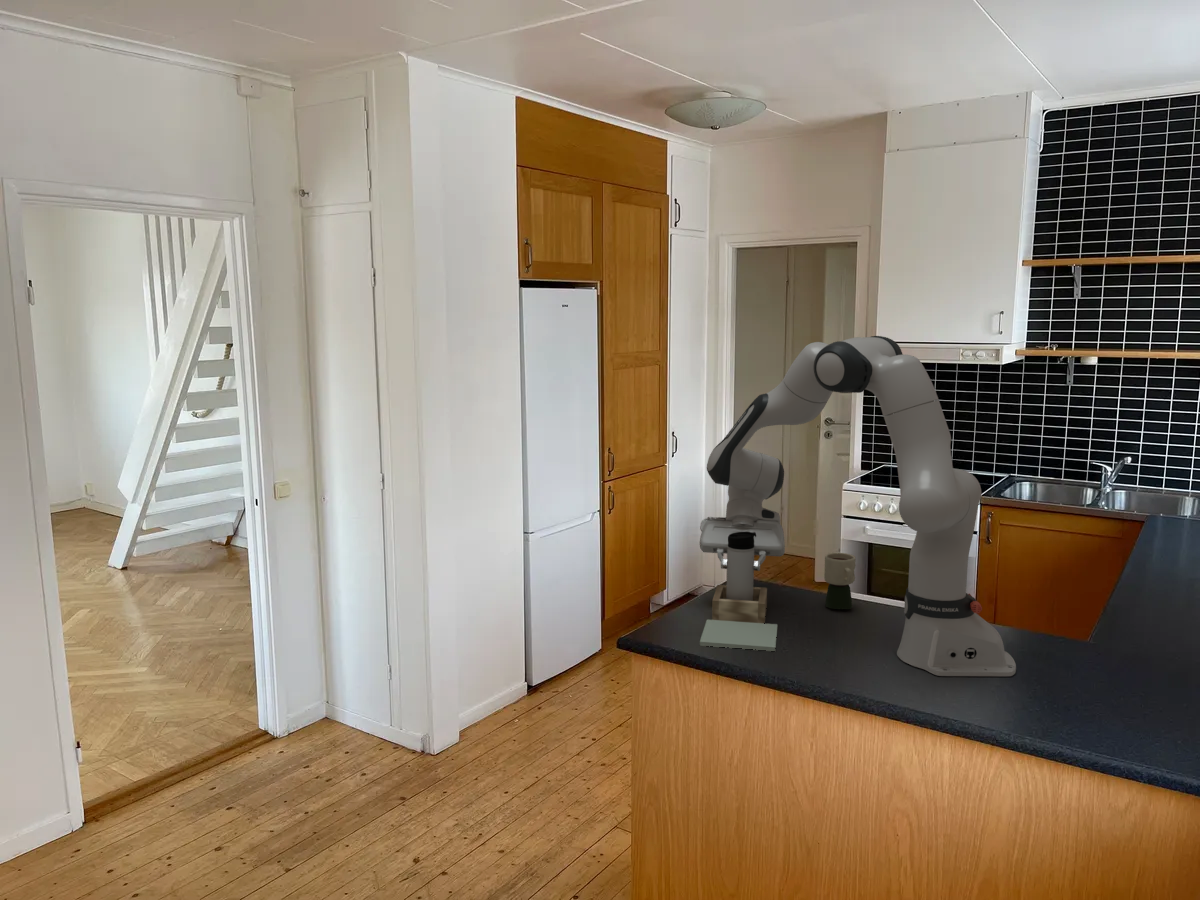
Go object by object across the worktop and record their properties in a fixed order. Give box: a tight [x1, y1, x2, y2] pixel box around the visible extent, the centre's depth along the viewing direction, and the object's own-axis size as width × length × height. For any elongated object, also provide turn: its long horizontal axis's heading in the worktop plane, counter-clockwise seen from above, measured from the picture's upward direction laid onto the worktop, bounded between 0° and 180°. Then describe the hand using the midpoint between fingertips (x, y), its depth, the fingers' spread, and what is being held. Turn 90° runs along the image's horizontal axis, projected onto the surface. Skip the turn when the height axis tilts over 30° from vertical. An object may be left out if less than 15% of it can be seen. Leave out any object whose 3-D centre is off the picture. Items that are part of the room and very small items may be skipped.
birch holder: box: [711, 584, 768, 624], centre depth 207 cm, size 12×12×5 cm
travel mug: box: [726, 532, 756, 601], centre depth 206 cm, size 6×7×20 cm
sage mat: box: [699, 619, 778, 652], centre depth 193 cm, size 16×14×1 cm
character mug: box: [823, 552, 856, 611], centre depth 210 cm, size 11×7×13 cm, turn 10°
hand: (740, 568), depth 205 cm, fingers closed on travel mug, 6 cm apart
